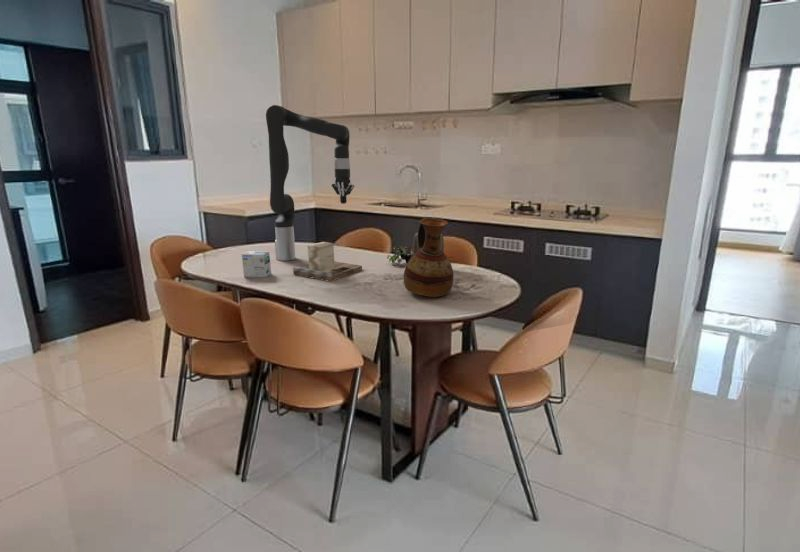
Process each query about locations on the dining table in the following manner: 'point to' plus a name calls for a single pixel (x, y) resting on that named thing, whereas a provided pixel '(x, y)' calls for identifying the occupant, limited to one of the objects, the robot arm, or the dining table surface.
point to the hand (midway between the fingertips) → (343, 203)
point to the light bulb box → (256, 264)
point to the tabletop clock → (415, 242)
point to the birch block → (321, 256)
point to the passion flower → (402, 253)
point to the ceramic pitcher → (429, 262)
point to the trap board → (330, 275)
